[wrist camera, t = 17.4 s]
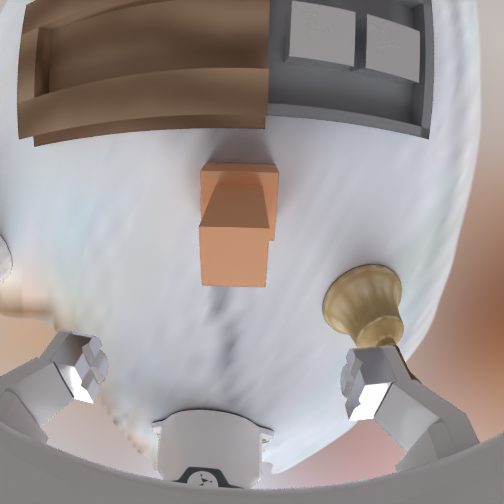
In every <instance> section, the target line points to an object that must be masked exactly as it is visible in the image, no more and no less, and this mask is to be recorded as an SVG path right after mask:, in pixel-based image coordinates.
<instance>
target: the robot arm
mask: <svg viewBox="0 0 504 504" xmlns="http://www.w3.org/2000/svg"><path fill="white" fill-rule="evenodd" d="M101 346H102V344H101V341H100V339H99V337H96V336H92V335H87V334H83V333H78V332H72V331H67V330H61V331H59V332H58V333H57V335H56V336H55V337H54V339H53V340H52V341H51V343H50V344H49V345H48V347H47V348H46V350H45V351H44V352H43V354H42V355H41V356H40V358H37V357H36V358H34V359H32V360H30V361H29V362H27V363H25V364H23V365H21V366H19V367H17V368H15V369H14V370H12V371H10V372H8V373H6V374H4V375H2V376H0V504H504V432H502V433H500V434H498V435H496V436H494V437H492V438H490V439H488V440H486V441H484V442H481V443H480V442H479V440H478V438H477V436H476V433H475V431H474V429H473V427H472V425H471V423H470V421H469V419H468V417H467V415H466V413H464V412H463V411H461V410H460V409H458V408H457V407H455V406H454V405H452V404H451V403H449V402H448V401H446V400H445V399H443V398H442V397H440V396H439V395H437V394H436V393H435V392H433V391H432V390H430V389H429V388H427V387H426V386H424V385H423V384H421V383H420V382H418V381H417V380H411V378H410V376H409V374H408V372H407V370H406V368H405V366H404V364H403V362H402V360H401V358H400V356H399V354H398V352H397V350H396V348H395V347H394V346H393V345H389V346H379V347H369V348H356V349H350V350H349V351H348V353H347V356H346V359H347V363H348V364H346V365H345V366H344V367H343V369H342V373H341V381H340V383H341V390H342V394H343V395H344V396H345V397H346V398H348V399H347V401H346V404H345V407H346V410H347V414H348V419H349V421H351V420H361V419H370V418H374V421H375V422H376V423H377V424H378V425H379V426H380V427H382V428H383V430H385V432H386V433H387V434H388V435H389V436H390V437H391V438H392V439H393V440H394V441H395V442H396V443H397V444H398V445H399V446H400V447H401V448H402V449H403V450H404V451H406V454H405V455H404V456H403V457H402V459H401V460H400V461H399V462H398V463H397V464H396V470H397V472H396V473H392V474H388V475H384V476H379V477H374V478H370V479H365V480H359V481H354V482H347V483H340V484H333V485H324V486H315V487H303V488H286V489H285V488H284V489H251V488H252V486H253V485H254V484H256V483H257V482H258V480H260V479H261V477H262V452H263V451H264V450H265V448H266V447H267V446H268V444H269V443H270V442H271V440H272V439H273V433H274V432H273V431H271V430H268V429H265V428H261V427H258V426H257V425H255V424H254V423H252V422H251V421H249V420H247V419H245V418H243V417H240V416H237V415H234V414H230V413H226V412H220V411H212V410H188V411H182V412H178V413H175V414H172V415H171V416H169V417H168V418H167V419H165V420H164V421H159V422H155V423H153V424H152V431H153V432H154V433H155V434H156V435H157V436H158V437H159V443H158V451H157V460H156V471H158V473H159V474H160V475H161V476H162V477H163V479H164V480H161V479H156V478H151V477H147V476H142V475H138V474H134V473H129V472H126V471H122V470H118V469H114V468H111V467H108V466H104V465H101V464H98V463H94V462H91V461H88V460H86V459H83V458H80V457H77V456H74V455H72V454H69V453H67V452H64V451H62V450H59V449H56V448H54V447H52V446H50V445H47V444H46V442H47V440H48V436H47V435H46V433H45V432H44V431H43V430H42V429H41V427H40V426H42V425H43V424H44V423H45V422H47V421H48V420H49V419H50V418H52V417H53V416H54V415H55V414H57V413H58V412H59V411H60V410H62V409H63V408H64V407H65V406H67V405H68V404H69V403H70V402H72V401H73V400H74V399H78V400H82V401H86V402H91V403H94V401H95V399H96V397H97V395H98V393H99V391H100V387H99V383H101V382H102V381H104V380H105V378H106V376H107V373H108V359H107V357H106V354H105V353H104V352H103V351H102V350H101V349H100V348H101Z"/></svg>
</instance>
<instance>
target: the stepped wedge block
mask: <svg viewBox="0 0 504 504" xmlns="http://www.w3.org/2000/svg"><path fill="white" fill-rule="evenodd" d="M200 175H201V219H202V220H201V223H200V225H199V240H200V260H201V277H202V285H206V286H236V287H266V273H267V259H268V245H269V241H274V236H275V222H276V209H277V194H278V179H279V172H278V170H277V168H276V165H275V164H256V163H206V164H205V166H204V167H203V168H202V170H201V171H200Z"/></svg>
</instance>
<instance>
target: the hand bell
mask: <svg viewBox="0 0 504 504" xmlns="http://www.w3.org/2000/svg"><path fill="white" fill-rule="evenodd" d="M401 291H402V289H401V283H400V280H399V278H398V276H397V275H396V274H395V273H394V272H393V271H392V270H391V269H389V268H387V267H385V266H382V265H375V264H372V265H364V266H359V267H357V268H354V269H352V270H350V271H348V272H346V273H345V274H343V275H342V276H341V277H339V278H338V279H337V280H336V281H335V282H334V283H333V285H332V286H331V287H330V289H329V290H328V292H327V294H326V296H325V298H324V302H323V315H324V318H325V320H326V322H327V323H328V325H329V326H331V327H332V328H333V329H334V330H336V331H338V332H340V333H343V334H347V335H350V336H351V338H352V339H353V341H354V342H355V344H356V346H357V348H369V347H379V346H389V345H393V346H394V347H395V348H396V350H397V352H398V354H399V356H400V358H401V360H402V362H403V364H404V366H405V368H406V370H407V372H408V374H409V376H410V378H411V380H417V381H418V382H420V381H419V380H418V379H417V378H416V377H415V376H414V375H413V374H412V373H411V372H410V371H409V369H408V367H407V365H406V363H405V361H404V359H403V357H402V354H401V353H400V350H399V348H398V346H396V344H397V343H398V342H399V340H400V339H401V337H402V334H403V330H404V326H403V322H402V320H401V317H400V315H399V311H398V306H399V303H400V300H401ZM420 383H421V382H420ZM421 384H422V383H421Z"/></svg>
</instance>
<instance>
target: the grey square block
mask: <svg viewBox="0 0 504 504" xmlns="http://www.w3.org/2000/svg"><path fill="white" fill-rule="evenodd" d="M419 67H420V31H417V30H415V29H412V28H409V27H406V26H404V25H401V24H398V23H395V22H392V21H389V20H386V19H382V18H379V17H376V16H372V15H369V14H366V15H365V16H363V17H362V18H360V19H359V20H358V21H356V22H355V53H354V67H351V68H350V72H352V73H357V74H362V75H366V76H371V77H375V78H379V79H383V80H387V81H390V82H394V83H398V84H403V83H419Z"/></svg>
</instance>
